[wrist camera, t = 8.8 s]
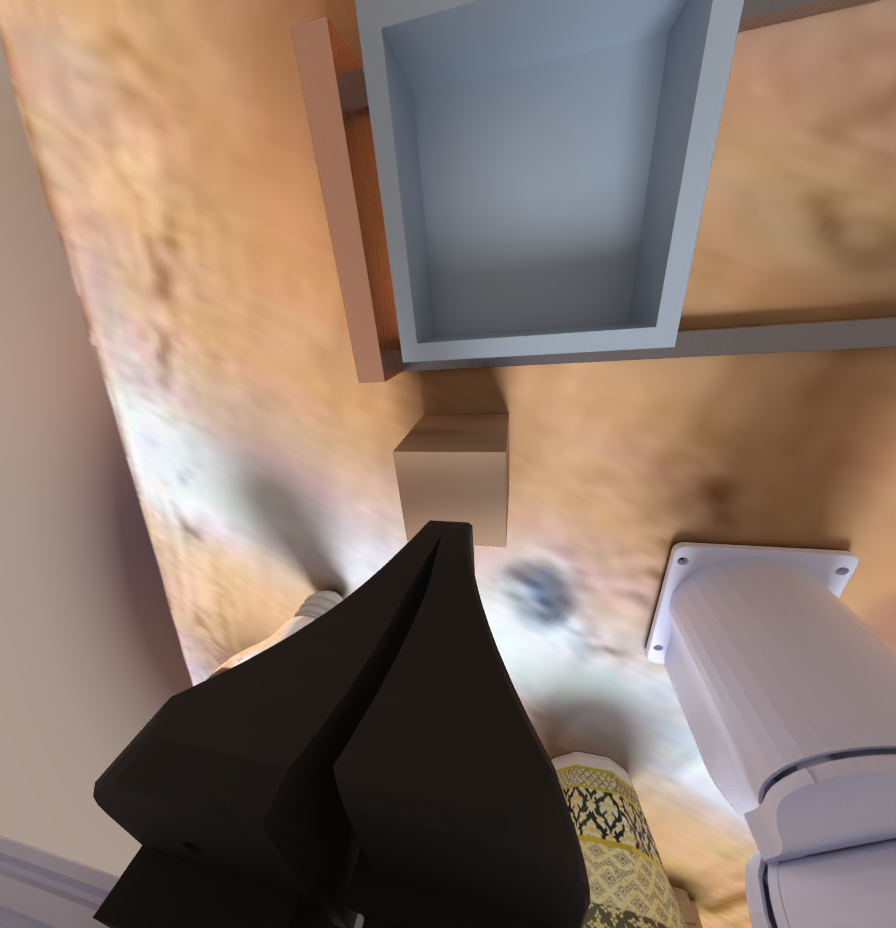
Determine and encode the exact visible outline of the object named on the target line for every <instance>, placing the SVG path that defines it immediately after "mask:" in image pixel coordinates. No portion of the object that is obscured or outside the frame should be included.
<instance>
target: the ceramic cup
mask: <svg viewBox="0 0 896 928" xmlns="http://www.w3.org/2000/svg"><path fill="white" fill-rule="evenodd" d="M552 763H553V765H554V767H555V770H556V773H557V776H558V779H559V782H560V785H561V788H562V791H563V794H564V797H565V800H566V802H567V805H568V808H569V811H570V814H571V817H572V820H573V823H574V826H575V829H576V833H577V836H578V839H579V843H580V846H581V850H582V853H583V857H584V861H585V866H586V870H587V875H588V880H589V886H590V905H589V908H588V911H587V914H586V917H585V920H584V923H583V926H582V928H687V925H686V923H685V920H684V917H683V915H682V912H681V909H680V907H679V904H678V901H677V899H676V897H675V894H674V892H673V889H672V887H671V884H670V882H669V880H668V877H667V875H666V873H665V870H664V868H663V865H662V862H661V859H660V856H659V854H658V851H657V848H656V845H655V843H654V840H653V837H652V835H651V832H650V829H649V827H648V824H647V821H646V819H645V816H644V814H643V811H642V809H641V806H640V803H639V800H638V797H637V794H636V792H635V789H634V787H633V784H632V782H631V779H630V776H629V775H628V773H627V771H626V770H624V769H623V768H622V767H621V766H619V765H618V764H617V763H615V762H614V761H613V760H611V759H610V758H608V757H604V756H599V755H594V754H588V753H583V752H572V753H568V754H565V755H561V756H558V757H555V758H552Z"/></svg>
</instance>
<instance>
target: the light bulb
mask: <svg viewBox="0 0 896 928" xmlns="http://www.w3.org/2000/svg"><path fill="white" fill-rule="evenodd" d="M341 601H343V598H342V595H341V594H340V593H339V592H337V591H335V590H330V591H320V592H316V593H314V594H312V595H310V596H309V597H307V599H306V600H305V602H304V603H303V604H302V605H301V607H300V609H299V610H298V611H297V612H296V614H295V616H294V618H292V619H290V620H288V621H287V622H285V623H284V624H283V625H282V626H281V627H280V628H279V629H278V630H277V631H276V632H275V633H274V634H273V635H272V636H270V637H269V638H267V639H265V640H263V641H261V642H259V643H257V644H255V645H253V646H251V647H249V648H247V649H245V650H243V651H241V652H239V653H238V654H236V655H234V656H232V657H231V658H230V659H228V660H227V661H226V662H224V663H223V664H222V665H220V666H219V667H218V668H217V669H216V670H215V671H214V672H213V673H212V674H211V675H210V676H209V678H208V679H210V678H212V677H214V676H216V675H218V674H220V673H222V672H224V671H227V670H229V669H231V668H233V667H235V666H236V665H238V664H240V663H242V662H244V661H246V660H248V659H250V658H252V657H253V656H255V655H257V654H259V653H261V652H262V651H264V650H266V649H268V648H270V647H271V646H273V645H275V644H277V643H278V642H280V641H282V640H284V639H285V638H287V637H289V636H290V635H292V634H294V633H295V632H297V631H298V630H300V629H301V628H303V627H304V626H306V625H307V624H309V623H311V622H312V621H314V620H315V619H317V618H318V617H320V616H321V615H323V614H324V613H326V612H327V611H329V610H330V609H332V608H333V607H335V606H336V605H337V604H339V603H340V602H341ZM208 679H207V680H208Z"/></svg>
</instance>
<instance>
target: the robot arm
mask: <svg viewBox="0 0 896 928" xmlns="http://www.w3.org/2000/svg"><path fill="white" fill-rule="evenodd" d="M683 557H685V558H684V559H682V560H678V559H680V558H683ZM858 562H859V559H858V558H857V557H856V556H855V555H853V554H852V553H851V552H849V551H841V550H822V549H803V548H784V547H765V546H746V545H727V544H708V543H689V542H681V543H678V544H676V545H674V546H673V548H672V551H671V555H670V558H669V562H668V566H667V570H666V574H665V577H664V581H663V585H662V589H661V593H660V597H659V600H658V604H657V608H656V612H655V616H654V620H653V623H652V627H651V631H650V635H649V639H648V642H647V646H646V650H645V655H646V658H647V659H648V661H650V662H653V663H661V664H664V665H665V667H666V670H667V672H668V675H669V677H670V680H671V682H672V685H673V687H674V690H675V692H676V694H677V697H678V699H679V702H680V704H681V707H682V709H683V712H684V714H685V717H686V719H687V722H688V724H689V727H690V729H691V732H692V734H693V737H694V739H695V742H696V744H697V747H698V749H699V752H700V754H701V757H702V759H703V762H704V764H705V766H706V768H707V770H708V772H709V774H710V776H711V778H712V780H713V782H714V783H715V785H716V786H717V788H718V789H719V791H720V792H721V794H722V795H723V796H724V798H725V799H726V800H727V801H728V803H729V804H730V805H731V806H732V807H733V809H734V810H735V811H736V812H737V813H738V814H739V815H740V816H741V817H742V818H743V819H744V820H745V821H746V822H747V824H748V826H749V828H750V831H751V833H752V835H753V837H754V840H755V842H756V844H757V847H758V849H759V851H757V852H756V853H755V854H753V855H752V856H751V857H750V859H749V861H748V863H747V866H746V874H745V883H746V897H747V903H748V908H749V914H750V919H751V925H752V928H896V650H894V649H893V648H892V647H891V646H890V645H889V644H888V643H887V642H886V641H885V640H884V639H882V638H881V637H880V636H879V635H878V634H877V633H876V632H875V631H874V630H873V629H872V628H870V627H869V626H868V625H867V624H866V623H865V622H864V621H863V620H862V619H861V618H860V617H859V616H857V615H856V614H855V613H854V612H853V611H852V610H851V609H850V608H849V607H848V606H847V605H845V604H844V603H843V602H842V601H841V600H840V599H839V596H840V594H841V592H842V591H843V589H844V587H845V586H846V584H847V582H848V580H849V579H850V577H851V575H852V573H853V572H854V570H855V568H856V566H857V565H858ZM838 568H839V569H838ZM474 573H475V569H474V548H473V526H472V525H471V524H470V523H469V522H452V521H433V520H430V521H429V522H428V523H427V524H426V525H425V526H424V527H423V528H422V529H421V530H420V531H419V532H418V533H417V534H416V535H415V536H414V537H413V538H412V539H411V540H410V541H409V542H408V543H407V544H406V545H405V546H404V547H403V548H402V549H401V550H400V551H399V552H398V553H397V554H396V555H395V556H394V557H393V558H392V559H391V560H390V561H389V562H388V563H387V564H386V565H385V566H384V567H382V568H381V569H380V570H379V571H378V572H377V573H376V574H374V575H373V576H372V577H371V578H370V579H369V580H368V581H367V582H365V583H364V584H363V585H362V586H361V587H359V588H358V589H357V590H356V591H354V592H353V593H352V594H351V595H349V596H348V597H347V598H345V599H344V600H343V601H341V602H340V603H339V604H337V605H336V606H335V607H333V608H332V609H330V610H329V611H327V612H326V613H324V614H323V615H321V616H320V617H318V618H317V619H315V620H314V621H312V622H311V623H309V624H307V625H306V626H304V627H303V628H301V629H300V630H298V631H297V632H295V633H294V634H292V635H290V636H289V637H287V638H285V639H284V640H282V641H280V642H278V643H277V644H275V645H273V646H271V647H270V648H268V649H266V650H264V651H262V652H261V653H259V654H257V655H255V656H253V657H252V658H250V659H248V660H246V661H244V662H242V663H240V664H238V665H236V666H235V667H233V668H231V669H229V670H227V671H224V672H222V673H220V674H218V675H216V676H214V677H212V678H210V679H208V680H206V681H204V682H202V683H200V684H198V685H196V686H194V687H191V688H189V689H187V690H185V691H183V692H181V693H179V694H177V695H174V696H172V697H171V698H170V699H169V700H168V701H167V702H166V703H165V704H164V705H163V706H162V708H161V709H160V710H159V711H158V712H157V713H156V714H155V715H154V716H153V718H152V719H151V720H150V721H149V722H148V723H147V724H146V726H145V727H144V728H143V729H142V730H141V731H140V733H138V735H137V736H136V737H135V738H134V739H133V740H132V741H131V742H130V744H129V745H128V746H127V747H126V748H125V749H124V750H123V751H122V753H121V754H120V755H119V756H118V757H117V758H116V759H115V761H114V762H113V763H112V764H111V765H110V766H109V767H108V768H107V770H106V771H105V772H104V773H103V774H102V775H101V777H100V778H99V779H98V780H97V781H96V782H95V787H94V795H93V797H94V799H95V800H96V802H97V804H98V805H99V806H100V807H101V808H102V809H103V810H104V811H105V812H106V813H107V814H108V815H109V816H110V817H111V818H112V819H114V820H115V821H116V822H117V823H118V824H119V825H120V826H121V827H123V828H124V829H125V830H126V831H127V832H128V833H130V834H131V835H132V836H133V837H134V838H135V839H136V840H137V841H138V842H140V843H141V844H142V847H141V848H140V850H139V851H138V853H137V854H136V856H135V857H134V858H133V860H132V861H131V863H130V864H129V866H128V867H127V868H126V870H125V871H124V873H123V874H122V876H121V877H119V876H116V875H113V874H111V873H108V872H105V871H102V870H99V869H96V868H93V867H90V866H87V865H85V864H82V863H79V862H76V861H73V860H70V859H67V858H64V857H61V856H59V855H56V854H53V853H50V852H47V851H44V850H41V849H39V848H36V847H33V846H30V845H27V844H24V843H21V842H18V841H15V840H12V839H10V838H7V837H4V836H1V835H0V928H582V926H583V923H584V920H585V917H586V914H587V911H588V908H589V905H590V886H589V880H588V875H587V870H586V866H585V861H584V857H583V853H582V850H581V846H580V843H579V839H578V836H577V833H576V829H575V826H574V823H573V820H572V817H571V814H570V811H569V808H568V805H567V802H566V800H565V797H564V794H563V791H562V788H561V785H560V782H559V779H558V776H557V773H556V770H555V767H554V765H553V763H552V761H551V759H550V758H549V756H548V754H547V752H546V750H545V748H544V746H543V745H542V743H541V741H540V739H539V737H538V735H537V733H536V731H535V729H534V727H533V725H532V723H531V721H530V719H529V717H528V715H527V713H526V711H525V709H524V707H523V705H522V703H521V701H520V699H519V697H518V694H517V692H516V690H515V688H514V686H513V684H512V681H511V679H510V677H509V674H508V672H507V670H506V667H505V665H504V663H503V660H502V658H501V656H500V653H499V651H498V648H497V646H496V643H495V641H494V638H493V635H492V632H491V630H490V627H489V624H488V621H487V618H486V615H485V612H484V609H483V606H482V602H481V599H480V595H479V591H478V587H477V583H476V579H475V574H474Z"/></svg>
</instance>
